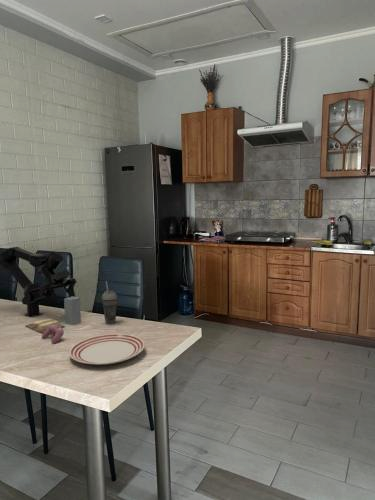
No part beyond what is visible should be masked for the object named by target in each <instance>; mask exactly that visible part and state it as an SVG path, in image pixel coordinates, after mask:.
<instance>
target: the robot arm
mask: <svg viewBox="0 0 375 500" xmlns="http://www.w3.org/2000/svg"><path fill="white" fill-rule="evenodd" d="M17 259H21V260H24V261H26V262H29V263H28V264H30V265H31V266H32V267H34V268H39V269H38V272H37V275H39V276H40V275H42V276H43V277H44V279H45V281H44V282H45V284H42V285H40V283H38V282H36V283H33V282H32V281H31V280H30V278H29V277H28V276H27V274H25V272H24V271H23V270H22V269H21V267H19V265H18V262H17V261H18V260H17ZM63 261H64V258H63V256H62V255H61V254H59V253H56V252H55V251H51V252H50V253H49V255H46V254H44V253H35V252H34V253H33V252H31V251H28V250H25V249H23V248H20V247H19V246H14V247H13V246H12V247H10V248H8V249H6V250H5V251H3V252H1V253H0V267H1V268H3V269H4V270H7V271H8V272H9V273H10V274H11V276H13V278H14V279H15V280H16V282H17V283H18V284H19V285H20V286H21V288H22V289H23V297H22V300H21V303H22V305H25V306H26V313H24V316H27V317H30V318H31V317H32V318H33V317H35V316H40V315H43V312H40V302H43V301H44V298H46V299H49V300H51V301H53V302H55V303H57V304H60V302H61V301H60V299H59V297H58V295H56V293H55V290H58V289H62V288H64V290H65V292H66V293H67V294H68V295H69V297H72V296H73V297H76V293H75V285H76V284H77V282H78V281H77V280H76V278H74V277H73V278H69V276H70V275H71V273H70V271H69V269H67V268H66V269H63V270H62V271H59V272H56V270H57V269H58V268H59V266H60V265H61V263H62V262H63ZM66 279H67V280H66ZM65 280H66V281H65Z"/></svg>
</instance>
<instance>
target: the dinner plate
mask: <svg viewBox="0 0 375 500" xmlns="http://www.w3.org/2000/svg"><path fill="white" fill-rule="evenodd" d="M145 347H146V344H145V341H144V340H143V339H142V338H140V337H138V336H136V335H134V334H133V335H132V334H126V333H125V334H124V333H107V334H100V335H95V336H94V335H93V336H91V337H89V338H84V339H83V340H80V341H79V342H77V343H75V344H74V345H73V346H71V347H70V349H69V352H68V354H69V357H70V358H71V359H72V360H73V361H75V362H78V363H80V364H81V363H82V364H87V365H97V366H99V365H101V366H102V365H112V364H116V363H117V364H118V363H122V362H125V361H127V360H130V359H133V358H135V357H136V356H138V355H139V354H140V353H142V352H143V351H144V350H145Z"/></svg>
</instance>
